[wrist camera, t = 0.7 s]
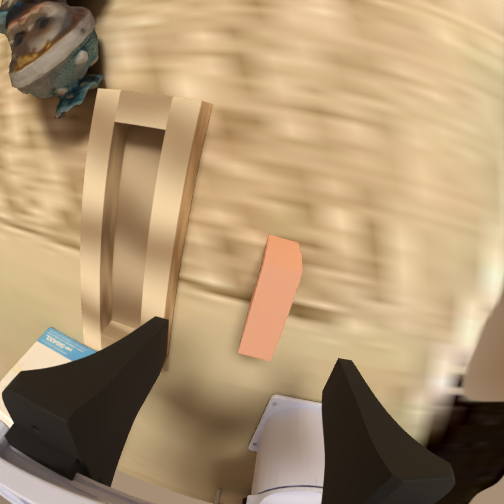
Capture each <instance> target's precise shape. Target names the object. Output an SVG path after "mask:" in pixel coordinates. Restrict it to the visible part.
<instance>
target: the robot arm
mask: <svg viewBox="0 0 504 504" xmlns="http://www.w3.org/2000/svg"><path fill="white" fill-rule="evenodd" d="M168 329H169V320H168V319H164V318H161V317H157V316H155V317H153V318H152V319H150V320H149V321H147V322H146V323H144V324H143V325H141V326H140V327H139V328H137V329H136V330H134V331H133V332H131V333H129V334H128V335H126V336H125V337H123V338H122V339H120V340H118V341H117V342H115V343H113V344H111V345H109V346H108V347H106V348H104V349H102V350H100V351H98V352H96V353H93V354H91V355H89V356H86V357H83V358H80V359H77V360H74V361H71V362H68V363H65V364H61V365H57V366H53V367H48V368H42V369H34V370H26V371H20V372H19V373H18V374H17V375H16V376H15V378H14V379H13V380H12V381H11V382H10V383H9V384H8V386H7V387H6V388H5V389H4V390H3V392H2V400H3V402H4V405H5V407H6V409H7V411H8V413H9V415H10V417H11V419H12V421H13V423H14V424H13V425H12V426H11V428H9V427H8V426H7V425H6V424H5V423H4V422H3V421H1V420H0V495H1V496H3V497H4V498H5V499H7V500H8V501H10V502H11V503H12V504H154V503H151V502H148V501H145V500H142V499H139V498H137V497H134V496H131V495H128V494H125V493H123V492H121V491H118V490H115V489H113V488H111V484H112V480H113V477H114V474H115V470H116V468H117V465H118V462H119V459H120V456H121V453H122V450H123V447H124V445H125V442H126V440H127V437H128V434H129V432H130V429H131V427H132V424H133V422H134V420H135V418H136V416H137V414H138V412H139V410H140V408H141V406H142V405H143V403H144V401H145V399H146V397H147V396H148V394H149V392H150V390H151V389H152V387H153V385H154V383H155V382H156V380H157V378H158V376H159V374H160V372H161V369H162V367H163V364H164V362H165V359H166V357H167V344H168ZM273 402H276V403H273ZM248 449H249V450H251V451H255V452H257V456H256V463H255V470H254V477H253V484H252V490H251V495H248V496H247V502H246V504H434V503H436V502H437V501H438V500H439V499H441V498H442V497H443V496H445V495H446V494H447V493H448V492H449V491H450V490H451V489H452V488H453V486H454V485H455V478H454V474H453V471H452V467H451V464H450V463H448V462H446V461H445V460H443V459H441V458H440V457H438V456H436V455H435V454H433V453H432V452H430V451H429V450H427V449H426V448H425V447H423V446H422V445H421V444H419V443H418V442H417V441H416V440H414V439H413V438H412V437H411V436H410V435H409V434H408V433H407V432H405V431H404V430H403V429H402V428H401V427H400V426H399V425H398V424H397V422H396V421H395V420H394V419H393V418H392V417H391V416H390V415H389V414H388V412H387V411H386V410H385V409H384V407H383V406H382V405H381V403H380V402H379V401H378V399H377V398H376V397H375V395H374V394H373V392H372V391H371V389H370V388H369V386H368V385H367V383H366V382H365V380H364V379H363V377H362V376H361V374H360V372H359V371H358V369H357V368H356V366H355V365H354V363H353V362H352V360H346V359H340V358H338V360H337V362H336V364H335V366H334V368H333V371H332V373H331V375H330V377H329V379H328V381H327V383H326V385H325V387H324V389H323V392H322V403H319V402H313V401H308V400H303V399H297V398H292V397H288V396H283V395H278V394H274V395H272V396H271V398H270V400H269V402H268V404H267V407H266V409H265V411H264V413H263V416H262V418H261V420H260V422H259V424H258V427H257V429H256V431H255V433H254V435H253V437H252V439H251V442H250V444H249V446H248Z"/></svg>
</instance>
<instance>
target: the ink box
mask: <svg viewBox="0 0 504 504" xmlns="http://www.w3.org/2000/svg"><path fill="white" fill-rule="evenodd" d="M93 353H96V351H93V350H91V349H90V348H88V347H86V346H84V345H82V344H80V343H78V342H77V341H75V340H73V339H71V338H69V337H68V336H66V335H64V334H62V333H61V332H59V331H57V330H55V329H53V328H52V327H50V328H49V329H48V330H47V331H46V332H45V333H44V334H43V335H42V336H41V337H40V338H39V339H38V340H37V341H36V342H35V344H34V345H33V346H32V347H31V348H30V349H29V350H28V351H27V352H26V353H25V354H24V355H23V357H22V358H21V359H20V360H19V361H18V362H17V363H16V364H15V365H14V367H13V368H12V369H11V370H10V371H9V372H8V373H7V374H6V376H5V377H4V378H3V379H2V380H1V381H0V420H1V421H3V422H4V423H5V424H6V425H7V426H8V427H9V428H11V426H12V425H13V424H14V423H13V421H12V419H11V417H10V415H9V413H8V411H7V409H6V407H5V405H4V402H3V400H2V392H3V390H4V389H5V388H6V387H7V386H8V384H9V383H10V382H11V381H12V380H13V379H14V378H15V376H16V375H17V374H18V373H19V372H20V371H26V370H34V369H42V368H48V367H53V366H57V365H61V364H65V363H68V362H71V361H74V360H77V359H80V358H83V357H86V356H89V355H91V354H93Z"/></svg>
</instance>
